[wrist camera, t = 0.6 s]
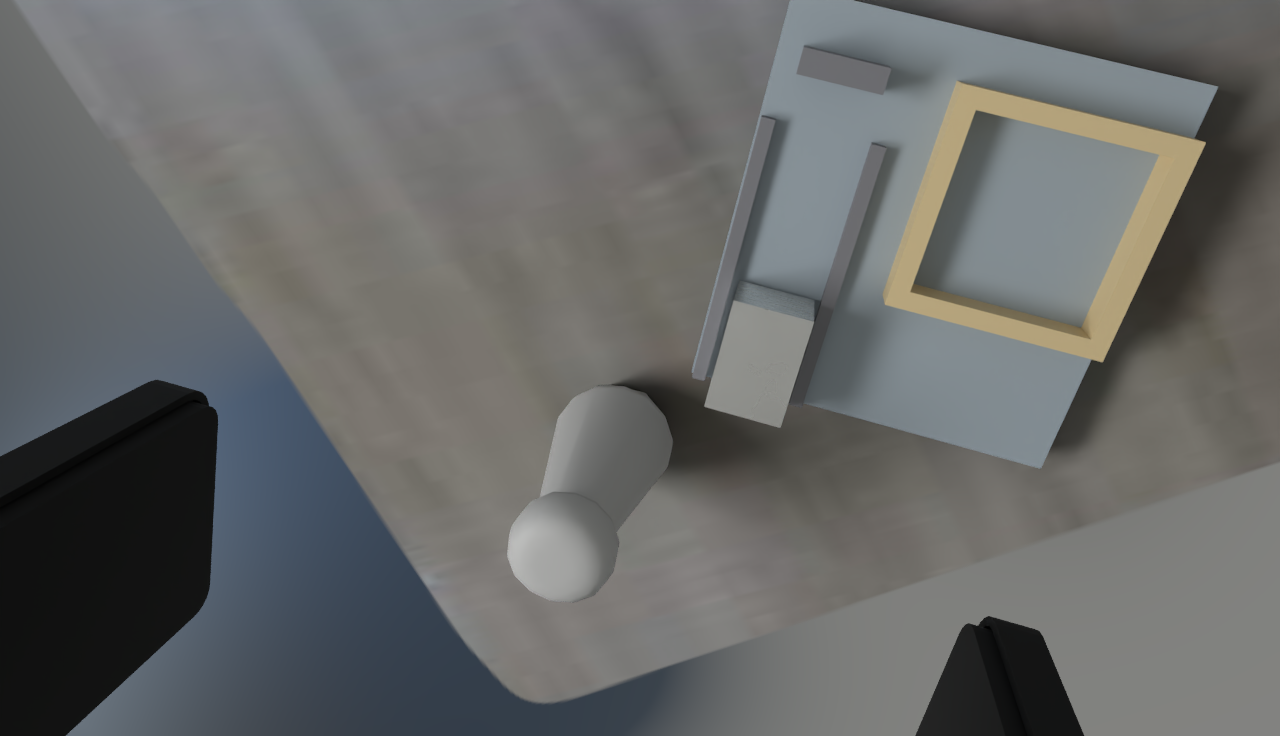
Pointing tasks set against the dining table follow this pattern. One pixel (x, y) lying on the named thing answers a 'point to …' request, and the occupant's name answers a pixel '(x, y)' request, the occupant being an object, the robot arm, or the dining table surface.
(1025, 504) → the dining table surface
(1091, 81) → the base
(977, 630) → the robot arm
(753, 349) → the cover
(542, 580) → the salt shaker
